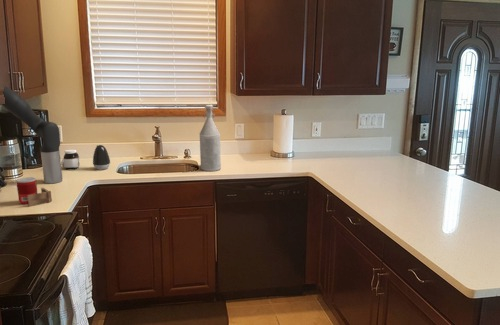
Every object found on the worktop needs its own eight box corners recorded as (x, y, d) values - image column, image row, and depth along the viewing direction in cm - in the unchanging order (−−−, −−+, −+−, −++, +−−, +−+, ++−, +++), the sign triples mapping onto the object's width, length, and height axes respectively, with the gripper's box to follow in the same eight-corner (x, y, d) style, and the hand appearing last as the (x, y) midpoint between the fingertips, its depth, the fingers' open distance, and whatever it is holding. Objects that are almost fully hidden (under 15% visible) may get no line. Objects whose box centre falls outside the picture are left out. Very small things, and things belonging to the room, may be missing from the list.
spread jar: (74, 170, 254) (73, 151, 252) (56, 170, 254) (54, 151, 252) (83, 166, 266) (81, 148, 263) (65, 166, 266) (63, 148, 263)
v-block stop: (42, 197, 200) (41, 187, 199) (57, 197, 200) (56, 187, 199) (27, 206, 187) (26, 195, 186) (43, 206, 187) (42, 195, 186)
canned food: (41, 201, 194) (38, 179, 192) (23, 205, 188) (20, 182, 186) (34, 198, 199) (31, 176, 196) (16, 202, 193) (13, 179, 191)
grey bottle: (218, 164, 268) (217, 103, 259) (222, 171, 251) (221, 105, 243) (198, 165, 265) (196, 103, 256) (202, 172, 248) (200, 106, 240)
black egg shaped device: (106, 166, 265) (104, 142, 261) (113, 169, 257) (111, 145, 254) (90, 168, 258) (88, 144, 255) (96, 171, 251) (94, 147, 247)
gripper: (-30, 157, 182) (1, 184, 185) (-11, 151, 195) (18, 176, 198) (-40, 168, 184) (-9, 195, 186) (-20, 162, 197) (8, 187, 199)
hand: (5, 185), depth 192 cm, fingers closed
